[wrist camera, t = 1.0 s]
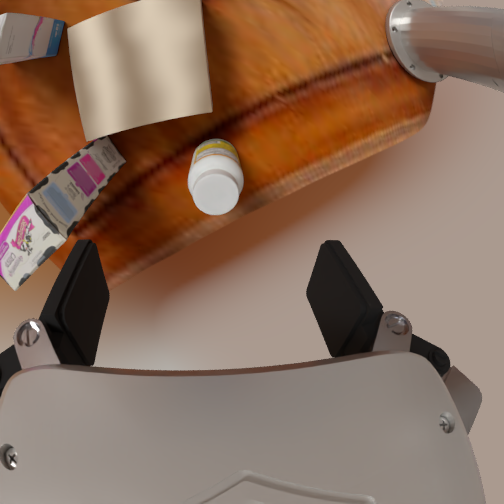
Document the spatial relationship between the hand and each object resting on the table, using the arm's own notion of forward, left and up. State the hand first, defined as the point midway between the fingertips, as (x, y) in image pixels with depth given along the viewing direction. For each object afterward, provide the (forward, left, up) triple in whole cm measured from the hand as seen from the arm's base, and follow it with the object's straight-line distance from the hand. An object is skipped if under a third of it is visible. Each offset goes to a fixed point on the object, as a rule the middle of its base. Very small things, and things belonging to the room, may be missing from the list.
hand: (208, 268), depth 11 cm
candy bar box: (+16, +1, -23) cm, 28 cm away
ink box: (+20, -19, -23) cm, 36 cm away
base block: (+6, -10, -22) cm, 25 cm away
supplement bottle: (0, +3, -23) cm, 23 cm away
